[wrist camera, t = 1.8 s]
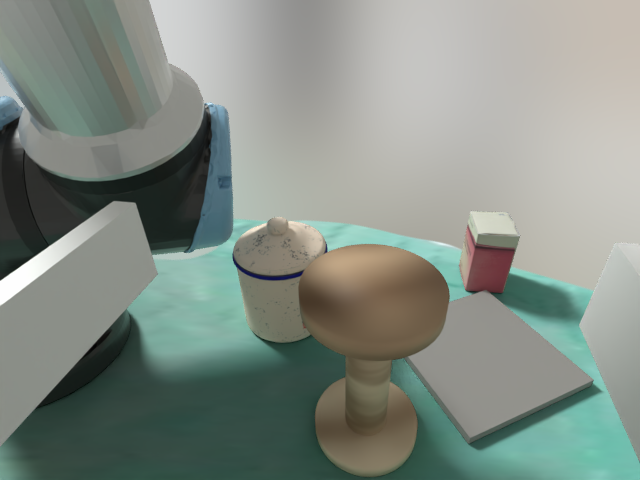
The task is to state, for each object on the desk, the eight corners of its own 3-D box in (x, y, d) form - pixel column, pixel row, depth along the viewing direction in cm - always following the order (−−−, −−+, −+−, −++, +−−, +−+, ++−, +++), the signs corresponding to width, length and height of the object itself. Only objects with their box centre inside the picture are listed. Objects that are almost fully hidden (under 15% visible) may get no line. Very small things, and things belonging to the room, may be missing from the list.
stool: (293, 399, 34) (279, 263, 26) (385, 365, 37) (397, 232, 29) (337, 506, 27) (334, 363, 19) (446, 454, 30) (483, 311, 22)
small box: (458, 265, 49) (469, 209, 45) (494, 267, 49) (509, 211, 45) (464, 292, 45) (477, 233, 41) (504, 294, 45) (521, 235, 40)
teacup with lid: (322, 350, 39) (318, 252, 32) (232, 342, 40) (211, 245, 34) (336, 274, 49) (335, 187, 42) (264, 269, 50) (253, 184, 44)
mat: (382, 330, 41) (383, 324, 40) (484, 295, 45) (486, 289, 44) (468, 443, 31) (470, 437, 30) (590, 385, 34) (593, 379, 34)
